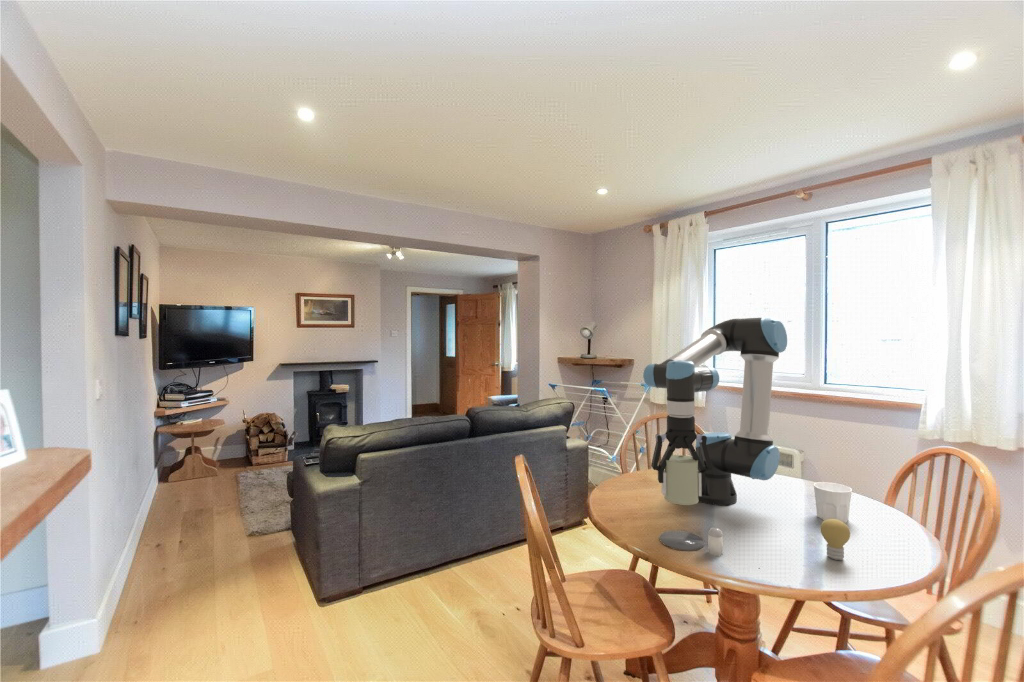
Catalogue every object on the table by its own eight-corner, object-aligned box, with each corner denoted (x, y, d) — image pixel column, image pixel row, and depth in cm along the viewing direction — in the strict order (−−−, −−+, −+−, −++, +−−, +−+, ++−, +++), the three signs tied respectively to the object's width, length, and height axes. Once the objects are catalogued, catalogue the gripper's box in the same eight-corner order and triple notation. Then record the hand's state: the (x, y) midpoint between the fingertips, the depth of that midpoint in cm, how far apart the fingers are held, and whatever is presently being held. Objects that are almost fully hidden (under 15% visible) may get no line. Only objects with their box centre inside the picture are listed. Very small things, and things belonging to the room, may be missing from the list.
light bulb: (814, 553, 127) (814, 515, 127) (837, 551, 127) (837, 514, 127) (833, 564, 120) (832, 525, 120) (856, 563, 121) (856, 524, 121)
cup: (854, 517, 151) (854, 486, 151) (849, 527, 143) (849, 494, 143) (817, 509, 158) (817, 480, 157) (810, 518, 150) (810, 487, 150)
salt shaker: (719, 550, 129) (719, 525, 129) (724, 556, 125) (724, 530, 125) (706, 549, 129) (706, 525, 129) (710, 556, 126) (710, 530, 126)
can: (698, 495, 138) (697, 454, 138) (699, 506, 129) (699, 462, 129) (664, 492, 141) (664, 452, 141) (663, 503, 132) (663, 460, 132)
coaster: (696, 532, 140) (696, 530, 140) (710, 551, 128) (710, 549, 128) (655, 531, 141) (655, 529, 141) (665, 550, 129) (665, 547, 129)
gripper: (715, 413, 137) (716, 490, 138) (639, 413, 139) (640, 489, 139) (724, 417, 130) (725, 499, 130) (644, 417, 132) (645, 498, 132)
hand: (681, 494), depth 135 cm, fingers closed on can, 9 cm apart
